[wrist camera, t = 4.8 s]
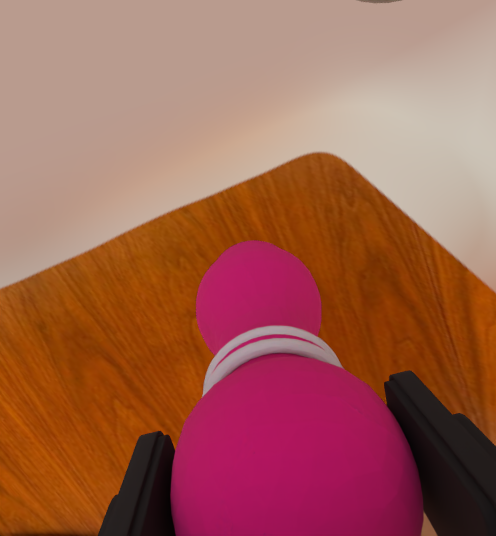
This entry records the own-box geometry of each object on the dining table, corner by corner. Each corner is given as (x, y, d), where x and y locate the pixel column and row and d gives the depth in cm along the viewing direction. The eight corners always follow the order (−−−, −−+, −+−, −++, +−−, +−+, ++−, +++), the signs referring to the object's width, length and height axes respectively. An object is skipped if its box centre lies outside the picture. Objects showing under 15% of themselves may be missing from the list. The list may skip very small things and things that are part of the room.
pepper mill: (183, 262, 23) (-65, 697, 4) (277, 214, 22) (544, 441, 3) (232, 345, 25) (230, 920, 6) (319, 302, 24) (651, 784, 5)
